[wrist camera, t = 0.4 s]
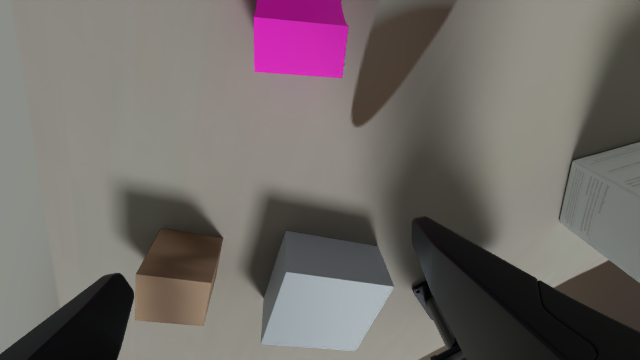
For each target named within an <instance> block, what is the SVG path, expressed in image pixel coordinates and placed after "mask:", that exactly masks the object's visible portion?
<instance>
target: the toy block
mask: <svg viewBox="0 0 640 360" xmlns="http://www.w3.org/2000/svg"><path fill="white" fill-rule="evenodd" d="M347 34H348V25H347V24H346V21H345V19H344V15H343V11H342V5H341V0H257V5H256V11H255V15H254V64H255V72H266V73H279V74H293V75H307V76H321V77H335V78H342V75H343V67H344V59H345V50H346V42H347Z"/></svg>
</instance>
